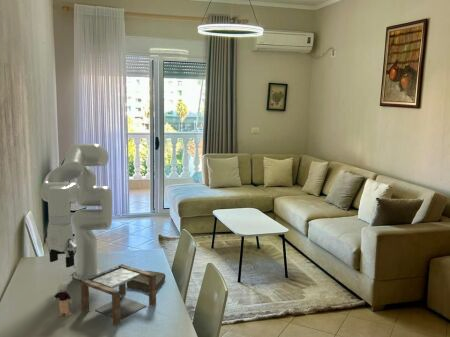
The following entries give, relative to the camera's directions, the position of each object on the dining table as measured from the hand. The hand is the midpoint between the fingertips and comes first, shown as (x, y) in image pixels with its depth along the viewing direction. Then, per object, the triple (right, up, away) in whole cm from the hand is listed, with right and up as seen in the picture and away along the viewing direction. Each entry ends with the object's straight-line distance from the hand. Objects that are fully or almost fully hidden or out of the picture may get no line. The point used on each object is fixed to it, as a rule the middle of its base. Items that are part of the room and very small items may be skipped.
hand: (61, 263), depth 161 cm
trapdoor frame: (+19, -19, +9) cm, 29 cm away
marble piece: (+26, -17, +31) cm, 44 cm away
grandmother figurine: (0, -20, +3) cm, 21 cm away
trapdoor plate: (+17, -8, +9) cm, 21 cm away
